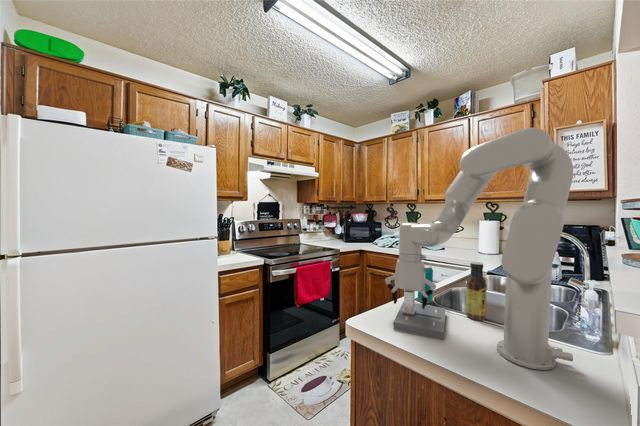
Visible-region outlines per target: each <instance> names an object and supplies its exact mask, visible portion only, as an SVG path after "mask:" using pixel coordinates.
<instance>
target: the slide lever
mask: <svg viewBox="0 0 640 426" xmlns="http://www.w3.org/2000/svg"><path fill="white" fill-rule="evenodd" d="M415 294H416V291H413V290H406V289H404V291H403V302H404V309H403V311H402V313H405V314H410V315H414V314H415V311H416V308H414V303H415V298H416V295H415Z"/></svg>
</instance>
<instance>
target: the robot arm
mask: <svg viewBox="0 0 640 426" xmlns="http://www.w3.org/2000/svg"><path fill="white" fill-rule="evenodd" d="M519 166H523V167H526V168H527V169H528V172H529V179H528V181H527V184H526V189H525V194H524V196H523V197H524V198H523V201H522V204H521V206H519V208H517V209H516V210H515V212H514V213H513V216H512V217H511V221H510V225H509V229H508V232H507V237H506V241H505V244H504V248H503V251H502V255H501V267H502V270H503V272H504V273H505V275H506V277H505V292H504V293H505V295H504V320H503V321H504V322H503V325H504V326H503V340H500V341H498V342H497V343H496V351H498V353H499V354H500V356H502V357H503V358H505V359H507V360H508V361H509V362H512V363H514V364H516V365H519V366H522V367H525V368H529V369H532V370H540V371H549V370H552V369H554V368H555V367H556V364H557V363H556V360H557V359H559V360H560V359H561V360H563V361H568V362H573V361H574V356H573V354H572V353H571V352H566V351H563V348H561V347H556V346H555V347H554V346H552V345H550V343H549V338H550V337H549V336H550V335H549V333H550V315H551V314H550V309H551V308H550V307H551V294H552V293H551V292H552V290H551V289H552V274H553V273H552V272H553V262H554V259H555V256H556V253H557V249H558V247H559V244H560V239H561V236H562V233H563V229H564V225H565V218H564V217H565V216H564V215H565V211H566V210H565V209H566V206H567V202H568V199H569V195H570V190H571V187H572V184H573V183H572V182H573V178H574V165H573V161H572V159H571V157H570V156H569V154H568V153H567V151H566V150H565V149H564V148H563V147H561V146H560V145H559V144H557V143H556V142H554V141H553V139H552V137H551V135H550V134H549V133H548V132H547V131H546V130H544V129H542V128H538V127H526V128H523V129H519V130H516V131H513V132H510V133H508V134H505V135H502V136H499V137H497V138H494V139H490V140H488V141H485V142H483V143H480V144H477V145H475V146H472V147H471V148H469V149H467V150H465V152H464V153H463V154H462V155H461V157H460V160H459V169H460V171H459V172H458V174H457V175H456V177H455V178H454V180H453V181H452V182H451V184H450V185H449V186H448V188H447V189H446V191H445V193H444V200H445V201H444V206H443V208H442V210H441V212H440V213H439V215H438V216H437V217H436V218H435V220H434V222H431V223H426V224H421V223H419V222H401V223H400V224H399V229H398V231H399V236H398V239H399V241H398V243H399V246H398V259H397V260H396V264H395V270H394V271H395V272H394V274H393V275H391V276H388V277H385V279H384V282H385V284H386V285H387V288H388V289H390V292H391V294H392V296H391V298H392V299H391V300H392V301H393V305H394V304H397V302H398V289H401V290H405V289H406V290H413V291H415V292H418V291H420V292H421V293H422V294H423V297H422V302H421V304H422V308H423V309H424V308H425V306H427V305H428V303H427V297H428V296H429V295H430V294H432V295H433V293H434V291H435V289H436V288H437V284H435V283H434V282H433V283H432V282H430V281H429V280H427V279H426V278H425V267H424V265H425V262H424V260H426V259H427V255H424V254H423V253H422V250H423V249H422V246H423V247H428V248H433V247H436V246H439V245H441V244H442V245H443V244H444V243H447V242H448V241H449V240H450V239H451V237H452V236H453V235H454V234H455V232H456V231H457V230H458V229H459V227H460V225H462V224H463V222H464V220H465V218H466V217H467V214H468V213H469V212H470V210H471V208H472V206H473V205H474V203H475V202H476V201H477V200H478V198H479V197H480V196H481V195H482V194H483V192H484V190H485V188H486V187H487V186H488V185H489V184H490V182H491V181H492V180H493V179H494V177H495V175H496V174H497V173H498V172H502V171H505V170H509V169H513V168H515V167H519ZM391 281H394V285H393V283H391ZM425 283H426V284H427V285H429V286H430V287H431V288H430V289H429V290H428V291H426V290H425V288H424V287H425Z"/></svg>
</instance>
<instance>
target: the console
mask: <svg viewBox="0 0 640 426" xmlns="http://www.w3.org/2000/svg"><path fill="white" fill-rule="evenodd" d="M414 308H416V311H415V314H414V315H410V314H405V313H402V311H403V309H404V301H402V303H401V306H400V308H399V310H398V312H397V314H396V316H395V318H394V320H393V330H395V331H399V332H403V333H408V334H413V335H419V336H423V337H427V338H432V339H436V340H441V341H444V340H445V339H444V338H445V325H446V324H445V323H446V308H444V307H439V306H433V305H428V304H427V306H425V308H424V309H423V308H422V303H414Z"/></svg>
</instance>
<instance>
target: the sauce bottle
mask: <svg viewBox="0 0 640 426" xmlns="http://www.w3.org/2000/svg"><path fill="white" fill-rule="evenodd" d="M469 264H470V275H469V277H468V278H467V280H466V292H465V295H466V298H465V299H466V301H465V311H466V317H468V318H470V320H471V319H472V320H476V321H484V320H485V319H486V315H487V313H486V312H487V284H486V280H485V278H484V274H483V273H484V272H483V271H484V263H482V262H475V261H471V262H470V263H469Z"/></svg>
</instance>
